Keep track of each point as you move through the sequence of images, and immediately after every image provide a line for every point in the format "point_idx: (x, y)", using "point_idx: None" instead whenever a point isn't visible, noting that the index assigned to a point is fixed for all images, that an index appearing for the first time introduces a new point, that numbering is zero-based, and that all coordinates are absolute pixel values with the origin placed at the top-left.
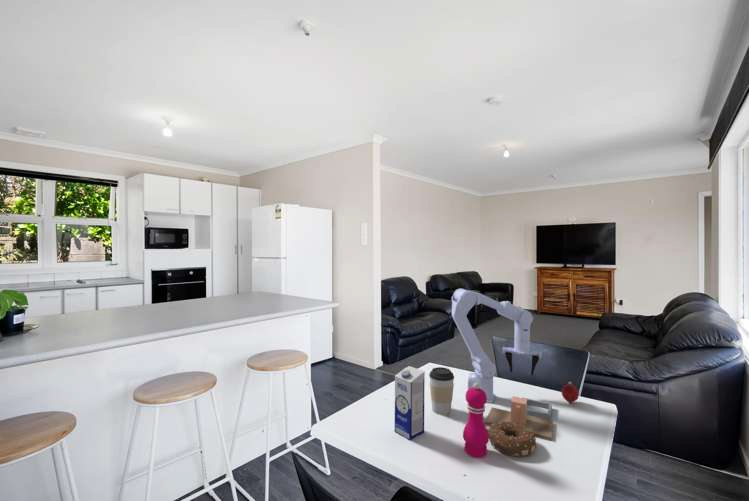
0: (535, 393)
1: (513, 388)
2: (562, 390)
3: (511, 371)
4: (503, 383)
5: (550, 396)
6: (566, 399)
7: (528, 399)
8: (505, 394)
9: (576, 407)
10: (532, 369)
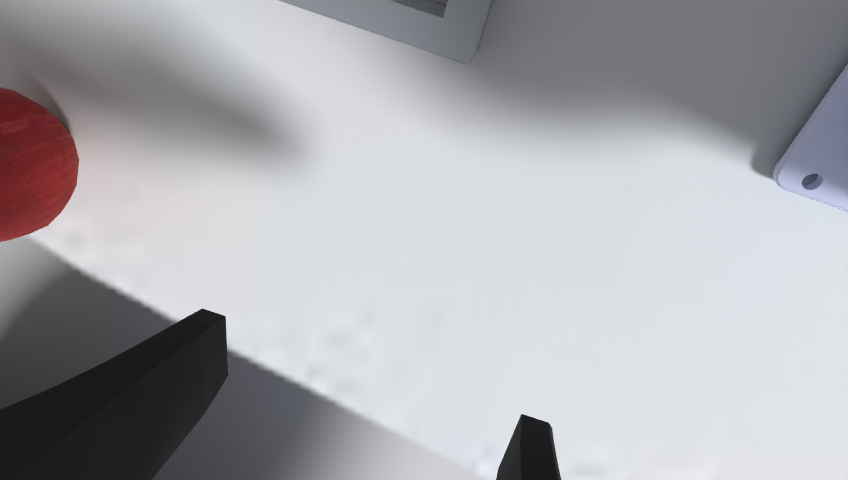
0: (316, 281)
1: (491, 364)
2: (16, 172)
3: (533, 426)
4: (558, 451)
5: (204, 236)
6: (48, 114)
7: (394, 12)
8: (616, 232)
9: (8, 41)
10: (132, 368)
